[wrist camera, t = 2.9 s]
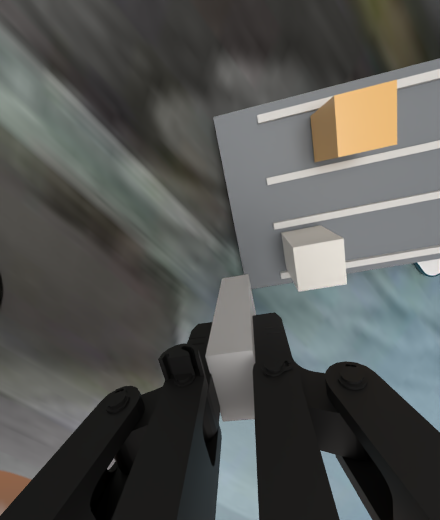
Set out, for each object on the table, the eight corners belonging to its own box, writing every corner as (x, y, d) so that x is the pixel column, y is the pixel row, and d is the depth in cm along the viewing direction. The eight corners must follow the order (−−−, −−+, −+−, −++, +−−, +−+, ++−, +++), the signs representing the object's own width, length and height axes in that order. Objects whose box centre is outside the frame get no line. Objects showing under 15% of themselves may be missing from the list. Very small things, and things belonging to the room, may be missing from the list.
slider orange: (314, 162, 18) (338, 157, 14) (310, 116, 17) (334, 95, 13) (358, 152, 17) (397, 144, 13) (356, 104, 17) (396, 79, 12)
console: (246, 279, 24) (247, 300, 20) (216, 124, 20) (210, 109, 16) (518, 233, 21) (588, 247, 17) (546, 39, 17) (646, -6, 13)
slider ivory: (286, 268, 20) (298, 291, 16) (281, 232, 20) (292, 247, 15) (324, 261, 20) (346, 284, 16) (320, 225, 19) (343, 238, 15)
